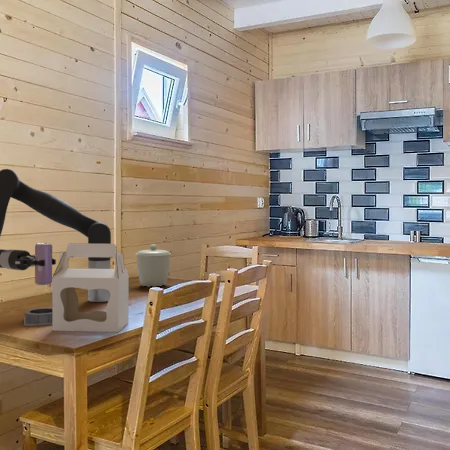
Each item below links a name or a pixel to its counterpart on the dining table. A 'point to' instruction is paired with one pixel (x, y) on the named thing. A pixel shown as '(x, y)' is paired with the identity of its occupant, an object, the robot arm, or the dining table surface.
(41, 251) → the beverage can
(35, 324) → the ring collar
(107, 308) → the gable box
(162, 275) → the canister
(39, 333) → the dining table surface
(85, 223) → the robot arm
